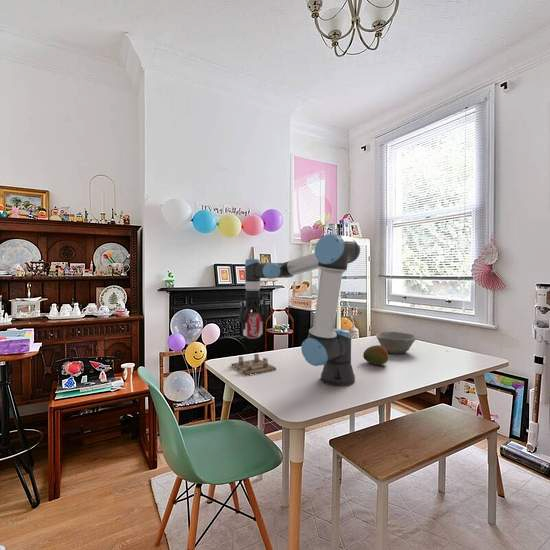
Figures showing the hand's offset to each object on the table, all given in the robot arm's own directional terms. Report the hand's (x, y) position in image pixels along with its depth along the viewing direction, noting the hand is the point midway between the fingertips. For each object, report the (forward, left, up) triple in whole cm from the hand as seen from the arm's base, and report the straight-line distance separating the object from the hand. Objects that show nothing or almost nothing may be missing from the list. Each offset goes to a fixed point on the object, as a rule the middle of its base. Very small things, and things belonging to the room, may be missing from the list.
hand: (253, 334), depth 166 cm
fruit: (-29, -57, -17) cm, 66 cm away
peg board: (0, 0, -17) cm, 17 cm away
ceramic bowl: (-19, -86, -17) cm, 90 cm away
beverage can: (0, 0, -1) cm, 1 cm away
